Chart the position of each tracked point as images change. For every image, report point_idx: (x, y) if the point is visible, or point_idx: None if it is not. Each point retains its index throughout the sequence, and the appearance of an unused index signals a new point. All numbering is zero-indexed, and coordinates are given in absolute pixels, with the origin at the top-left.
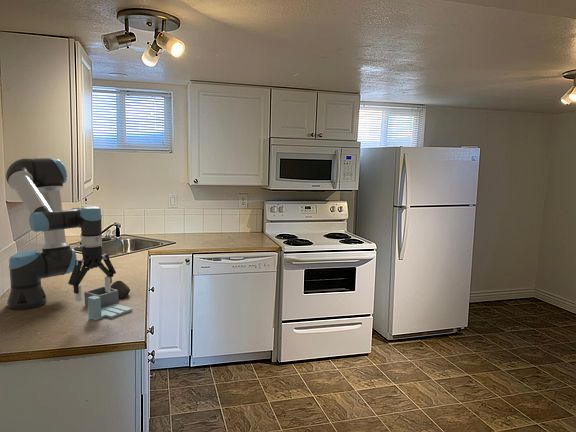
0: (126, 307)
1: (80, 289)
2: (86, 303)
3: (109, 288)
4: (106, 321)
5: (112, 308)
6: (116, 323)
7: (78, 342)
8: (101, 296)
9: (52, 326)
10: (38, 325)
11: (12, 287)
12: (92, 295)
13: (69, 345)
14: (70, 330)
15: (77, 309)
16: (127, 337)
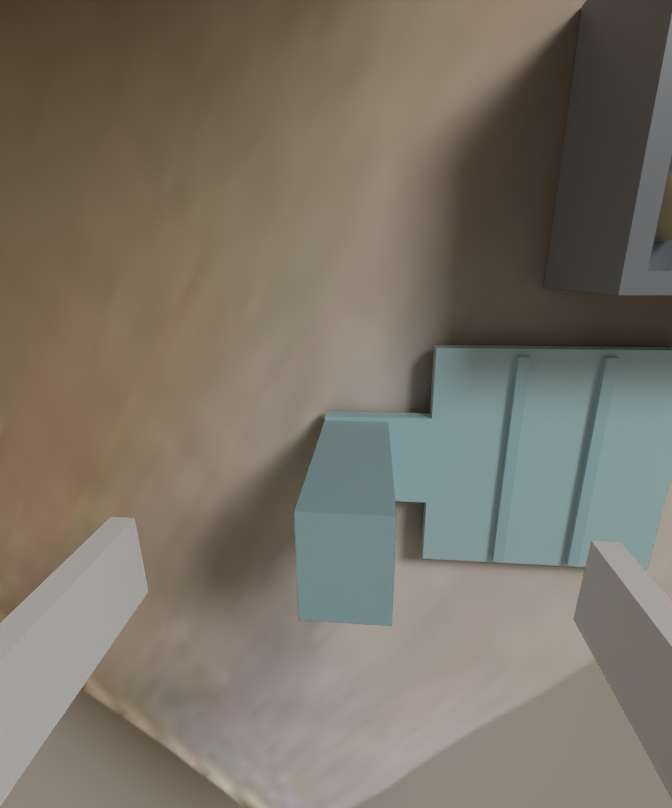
0: (645, 516)
1: (12, 764)
2: (588, 31)
3: (608, 673)
4: None
5: (569, 436)
6: None
7: None
8: (650, 294)
9: (76, 309)
10: (5, 188)
11: None
12: (636, 136)
13: None
14: (132, 480)
15: (434, 84)
16: (281, 779)
